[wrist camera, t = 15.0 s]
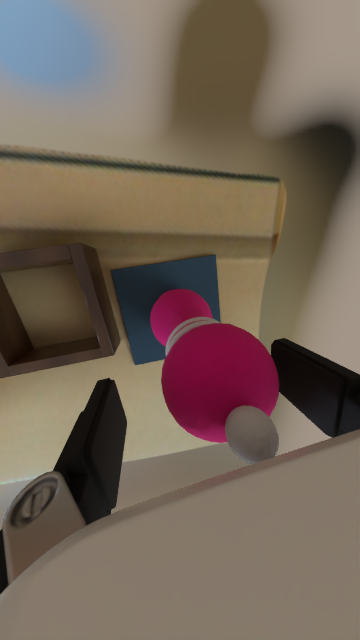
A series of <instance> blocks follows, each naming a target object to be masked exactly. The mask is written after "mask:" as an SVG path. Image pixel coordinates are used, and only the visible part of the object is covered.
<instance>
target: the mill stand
mask: <svg viewBox="0 0 360 640" xmlns="http://www.w3.org/2000/svg"><path fill="white" fill-rule="evenodd" d="M69 263H74V266H75V269H76V272H77V275H78V278H79V282H80V285H81V288H82V291H83V294H84V297H85V300H86V303H87V307H88V310H89V313H90V316H91V319H92V322H93V325H94V328H95V332H96V335H97V337H93V338H88V339H82V340H77V341H72V342H66V343H61V344H56V345H51V346H45V347H40V348H35V349H34V348H33V346H32V343H31V341H30V339H29V337H28V335H27V332H26V330H25V328H24V326H23V324H22V321H21V319H20V317H19V315H18V313H17V310H16V308H15V306H14V304H13V302H12V299H11V297H10V295H9V293H8V291H7V288H6V286H5V284H4V282H3V280H2V277H1V275H0V378H5V377H10V376H15V375H20V374H25V373H30V372H35V371H39V370H44V369H49V368H54V367H59V366H64V365H69V364H74V363H79V362H84V361H89V360H93V359H98V358H103V357H108V356H113V355H115V352H116V350H117V348H118V345H119V343H120V341H121V340H120V337H119V333H118V329H117V326H116V322H115V318H114V315H113V311H112V307H111V304H110V300H109V297H108V293H107V289H106V286H105V282H104V278H103V275H102V271H101V267H100V264H99V260H98V257H97V253H96V249H95V248H92V247H90V246H87V245H85V244H82V243H77V244H69V245H60V246H52V247H44V248H36V249H28V250H21V251H13V252H5V253H0V273H4V272H11V271H18V270H25V269H33V268H40V267H47V266H54V265H62V264H69Z"/></svg>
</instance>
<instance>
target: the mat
mask: <svg viewBox="0 0 360 640" xmlns="http://www.w3.org/2000/svg"><path fill="white" fill-rule="evenodd" d="M111 274H112V277H113V281H114V285H115V289H116V293H117V297H118V301H119V304H120V308H121V312H122V316H123V320H124V324H125V328H126V332H127V335H128V339H129V343H130V347H131V351H132V355H133V359H134V362H135V365H139V364H144V363H148V362H153V361H158V360H162V359H165V358H166V351H165V350H166V347H165V346H164V345H162V344H161V343H160V342H159V341H158V340H157V338H156V337H155V335H154V334H153V331H152V327H151V322H150V316H151V311H152V308H153V306H154V304H155V303H156V301H157V300H158V298H159V297H160V296H161V295H162V294H163V293H165V292H167V291H170V290H175V289H187V290H191V291H194V292H195V293H197V294H199V295H200V296H201V297H202V298H203V299H204V300H205V301H206V302H207V304H208V306H209V307H210V310H211V313H212V318H213V319H215V320H217V321H218V322H220V308H219V294H218V280H217V267H216V255H212V256H205V257H198V258H191V259H185V260H178V261H171V262H164V263H157V264H150V265H144V266H137V267H130V268H123V269H116V270H111ZM220 323H221V322H220Z"/></svg>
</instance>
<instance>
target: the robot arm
mask: <svg viewBox="0 0 360 640" xmlns="http://www.w3.org/2000/svg"><path fill="white" fill-rule="evenodd" d="M271 357H272V358H273V361H274V363H275V366H276V369H277V371H278V378H279V392H280V393H281V394H282V395H283V396H284V397H286V398H287V399H288V400H289V401H290V402H291V403H292V404H293V405H294V406H295V407H296V408H298V409H299V410H300V411H301V412H302V413H303V414H304V415H305V416H306V417H307V418H308V419H310V420H311V421H312V422H313V423H314V424H315V425H316V426H317V427H318V428H320V429H321V430H322V431H323V432H324V433H325V434H326V435H328V436H331V437H332V438H331V439H328V440H325V441H321V442H319V443H315V444H312V445H309V446H306V447H303V448H300V449H297V450H294V451H291V452H288V453H285V454H282V455H279V456H276V457H273V458H270V459H267V460H264V461H261V462H258V463H255V464H252V465H249V466H246V467H243V468H240V469H237V470H234V471H231V472H228V473H225V474H222V475H219V476H216V477H213V478H210V479H207V480H204V481H202V482H198V483H195V484H193V485H189V486H187V487H184V488H181V489H178V490H175V491H172V492H169V493H166V494H163V495H161V496H158V497H155V498H152V499H150V500H147V501H144V502H142V503H139V504H136V505H133V506H130V507H128V508H125V509H123V510H120V511H118V512H115V513H113V514H111V509H113V508H115V506H116V502H117V495H118V488H119V480H120V473H121V465H122V458H123V450H124V443H125V435H126V428H127V419H126V416H125V412H124V409H123V406H122V403H121V400H120V396H119V393H118V390H117V387H116V384H115V381H114V380H111V379H110V378H107V379H103V380H99V381H97V383H96V385H95V388H94V390H93V392H92V394H91V396H90V399H89V401H88V403H87V405H86V407H85V409H84V411H82V412H81V413H80V415H79V417H78V419H77V421H76V423H75V425H74V427H73V429H72V432H71V434H70V436H69V438H68V440H67V442H66V444H65V446H64V448H63V451H62V453H61V455H60V457H59V459H58V461H57V463H56V465H55V467H54V470H53V471H51V472H47V473H45V474H43V475H41V476H39V477H37V478H36V479H34V480H33V481H32V482H30V483H29V484H28V485H27V486H26V487H25V488H24V489H23V490H22V491H21V492H20V493H19V494H18V495H17V496H16V498H15V499H14V500H13V502H12V503H11V505H10V506H9V508H8V510H7V512H6V514H5V517H4V519H3V527H2V529H1V531H0V640H360V375H359V374H357V373H355V372H353V371H351V370H349V369H347V368H345V367H343V366H341V365H339V364H337V363H335V362H333V361H330V360H329V359H327V358H324V357H322V356H320V355H318V354H316V353H314V352H312V351H310V350H308V349H306V348H304V347H302V346H300V345H298V344H296V343H294V342H292V341H290V340H288V339H285V338H282V339H278V340H274V342H273V343H272V345H271Z"/></svg>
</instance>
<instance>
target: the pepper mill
mask: <svg viewBox="0 0 360 640" xmlns="http://www.w3.org/2000/svg"><path fill="white" fill-rule="evenodd" d="M150 322H151V327H152V331H153V334H154V335H155V337H156V338H157V340H158V341H159V342H160V343H161V344H162V345H164V346H165V347H166V350H165V351H166V358H165V361H164V365H163V368H162V378H161V383H162V390H163V395H164V398H165V402H166V404H167V407H168V409H169V411H170V413H171V414H172V415H173V417H174V418H175V420H176V421H177V423H178V424H179V425H180V426H181V427H182V428H184V429H185V430H186V431H187V432H189V433H190V434H192V435H194V436H195V437H198V438H201V439H203V440H207V441H210V442H219V443H223V442H228V444H229V446H230V447H231V449H232V451H233V452H234V453H235V454H236V455H237V456H238V457H239V458H240V459H241V460H243V461H245V462H247V463H249V464H255V463H258V462H261V461H264V460H267V459H270V458H273V457H275V455H276V452H277V450H278V445H279V438H278V433H277V430H276V427H275V425H274V424H273V422H272V420H271V419H270V418H269V416H270V415H271V413H272V411H273V409H274V407H275V405H276V402H277V399H278V395H279V378H278V371H277V369H276V366H275V363H274V361H273V358H272V357H271V355H270V354H269V352H268V351H267V349H266V348H265V346H264V345H263V344H262V343H261V342H260V341H259V340H258V339H257V338H255V337H254V336H253V335H252V334H250V333H249V332H247V331H245V330H243V329H241V328H238V327H236V326H233V325H231V324H222V323H220V322H218V321H217V320H215V319H213V318H212V313H211V310H210V307H209V306H208V304H207V302H206V301H205V300H204V299H203V298H202V297H201V296H200V295H199V294H197V293H195V292H194V291H191V290H187V289H175V290H170V291H167V292H165V293H163V294H162V295H161V296H160V297H159V298H158V300H157V301H156V303H155V304H154V306H153V308H152V311H151V316H150Z"/></svg>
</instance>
